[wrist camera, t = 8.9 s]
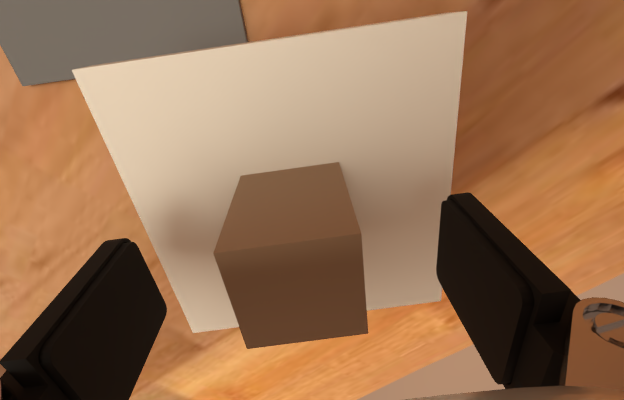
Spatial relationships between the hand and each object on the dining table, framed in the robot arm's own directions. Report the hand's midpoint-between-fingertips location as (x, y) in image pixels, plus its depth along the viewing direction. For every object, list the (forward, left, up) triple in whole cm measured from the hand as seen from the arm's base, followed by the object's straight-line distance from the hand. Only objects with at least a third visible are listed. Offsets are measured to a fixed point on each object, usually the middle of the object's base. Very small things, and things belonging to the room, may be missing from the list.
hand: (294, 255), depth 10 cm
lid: (0, 0, -4) cm, 4 cm away
